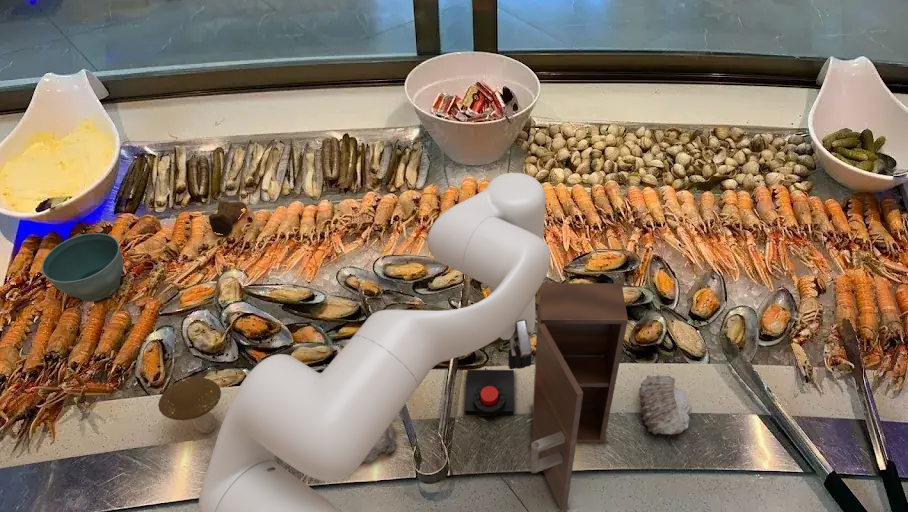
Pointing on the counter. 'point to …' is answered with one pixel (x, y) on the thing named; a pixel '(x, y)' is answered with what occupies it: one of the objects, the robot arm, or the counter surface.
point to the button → (489, 395)
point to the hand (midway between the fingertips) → (513, 339)
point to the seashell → (664, 405)
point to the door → (554, 417)
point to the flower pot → (85, 266)
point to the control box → (494, 378)
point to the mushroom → (192, 402)
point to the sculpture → (226, 217)
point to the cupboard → (587, 344)
